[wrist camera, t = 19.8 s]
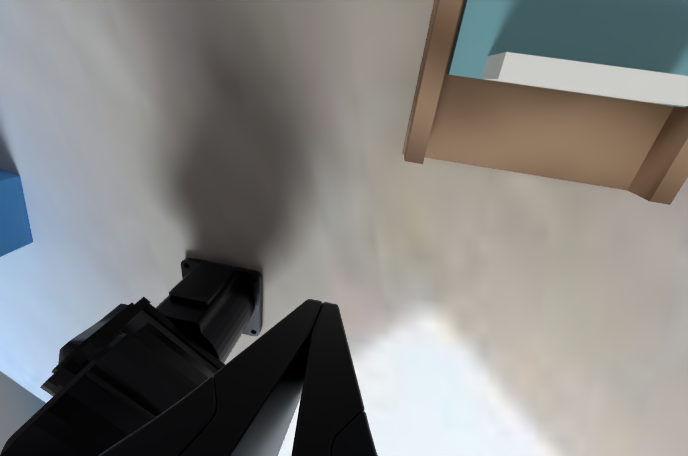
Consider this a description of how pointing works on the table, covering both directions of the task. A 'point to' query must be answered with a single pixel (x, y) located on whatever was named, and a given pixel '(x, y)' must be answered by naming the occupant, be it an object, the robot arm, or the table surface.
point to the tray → (578, 46)
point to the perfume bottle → (13, 214)
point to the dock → (542, 126)
